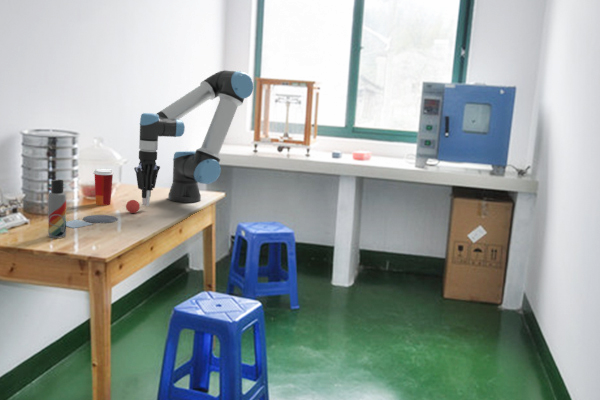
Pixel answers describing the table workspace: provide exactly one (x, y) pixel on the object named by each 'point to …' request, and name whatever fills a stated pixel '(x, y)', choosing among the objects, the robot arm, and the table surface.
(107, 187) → the coffee cup
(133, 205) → the ball
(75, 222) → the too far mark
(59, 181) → the lotion bottle
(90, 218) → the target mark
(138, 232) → the table surface
